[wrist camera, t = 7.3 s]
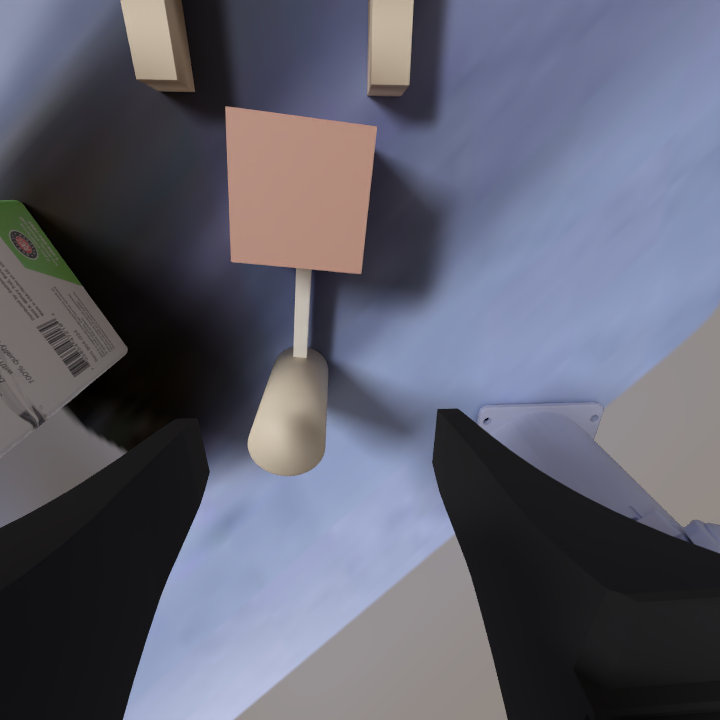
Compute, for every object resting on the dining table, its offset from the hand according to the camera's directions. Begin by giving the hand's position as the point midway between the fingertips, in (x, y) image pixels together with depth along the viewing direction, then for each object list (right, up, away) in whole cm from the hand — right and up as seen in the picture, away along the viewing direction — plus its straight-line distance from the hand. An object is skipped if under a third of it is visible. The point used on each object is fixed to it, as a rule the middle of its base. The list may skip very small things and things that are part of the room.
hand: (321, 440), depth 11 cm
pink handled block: (-2, +7, +8) cm, 11 cm away
